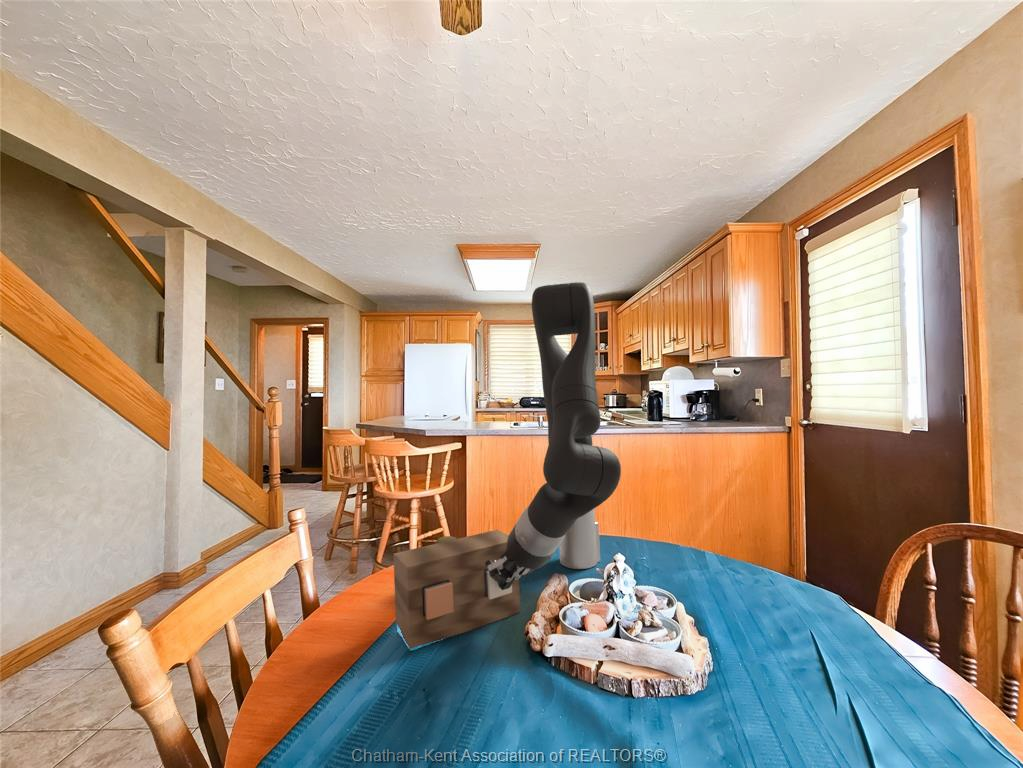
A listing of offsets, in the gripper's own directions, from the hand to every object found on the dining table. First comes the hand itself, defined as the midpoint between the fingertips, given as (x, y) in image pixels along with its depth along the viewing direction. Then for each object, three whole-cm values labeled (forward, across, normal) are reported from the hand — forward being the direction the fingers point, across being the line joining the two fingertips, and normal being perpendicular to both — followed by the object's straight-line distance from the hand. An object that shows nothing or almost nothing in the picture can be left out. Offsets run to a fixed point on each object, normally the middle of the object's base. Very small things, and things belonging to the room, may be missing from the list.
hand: (502, 584), depth 78 cm
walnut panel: (+10, +6, +1) cm, 11 cm away
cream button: (+5, 0, -2) cm, 5 cm away
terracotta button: (+5, +12, -2) cm, 13 cm away
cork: (+20, +2, -10) cm, 23 cm away
